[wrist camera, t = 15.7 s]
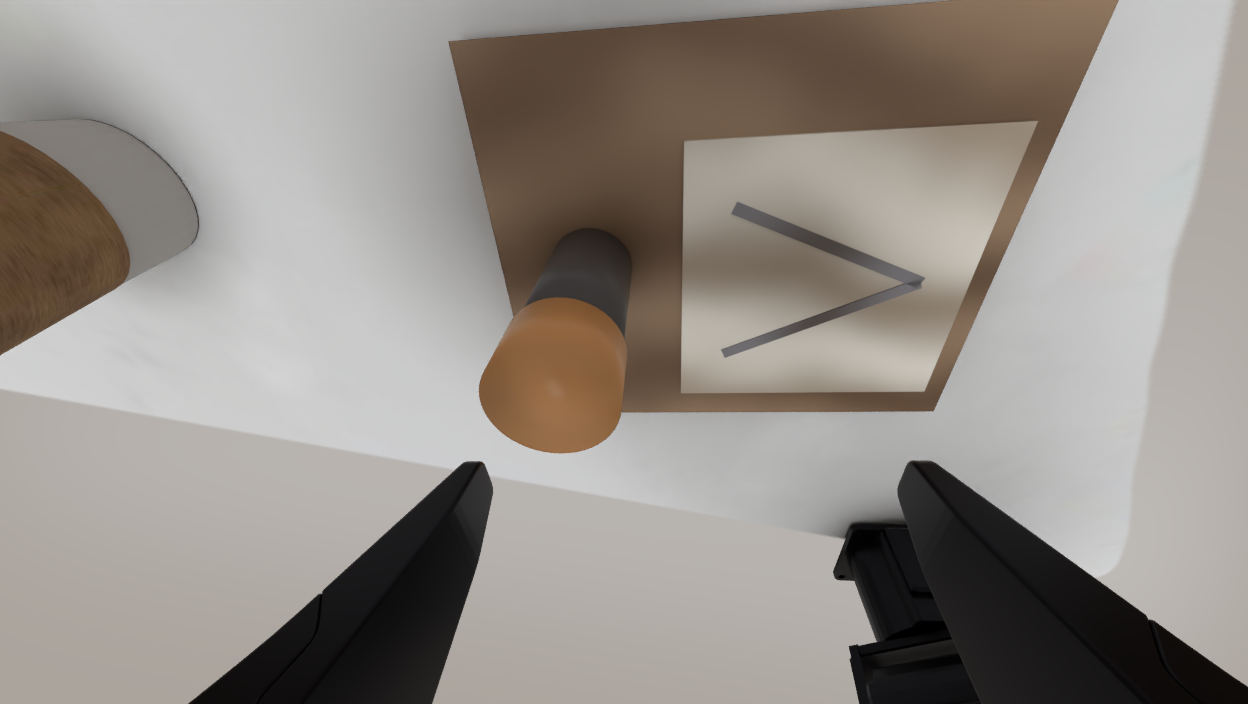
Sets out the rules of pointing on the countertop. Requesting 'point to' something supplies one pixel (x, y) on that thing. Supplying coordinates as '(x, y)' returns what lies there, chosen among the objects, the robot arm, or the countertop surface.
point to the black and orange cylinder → (565, 350)
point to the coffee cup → (80, 219)
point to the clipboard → (782, 185)
